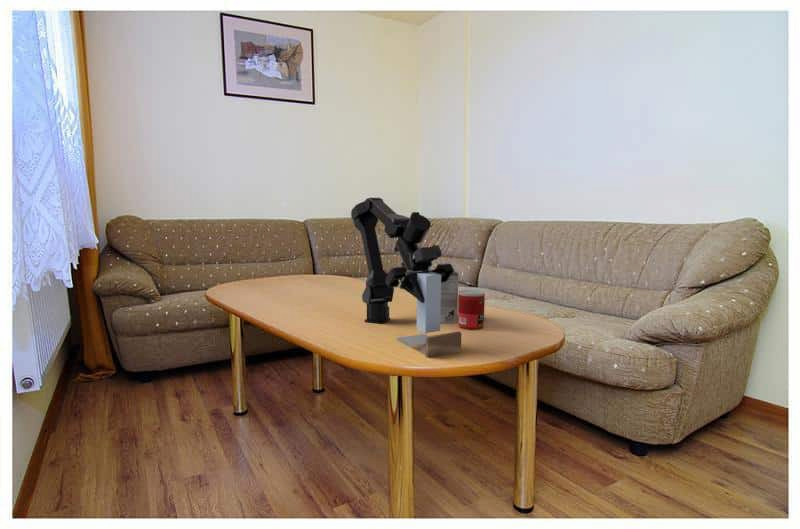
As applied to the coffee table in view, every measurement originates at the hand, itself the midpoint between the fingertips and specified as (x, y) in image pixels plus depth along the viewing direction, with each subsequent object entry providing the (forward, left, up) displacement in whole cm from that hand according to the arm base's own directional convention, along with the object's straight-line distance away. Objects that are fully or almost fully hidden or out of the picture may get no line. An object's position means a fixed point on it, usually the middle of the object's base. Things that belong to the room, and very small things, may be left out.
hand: (431, 301), depth 122 cm
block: (-1, +1, -8) cm, 8 cm away
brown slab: (+1, -1, -13) cm, 13 cm away
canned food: (+4, +25, -13) cm, 28 cm away
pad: (-5, +4, -13) cm, 14 cm away
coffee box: (-6, +31, -13) cm, 34 cm away
